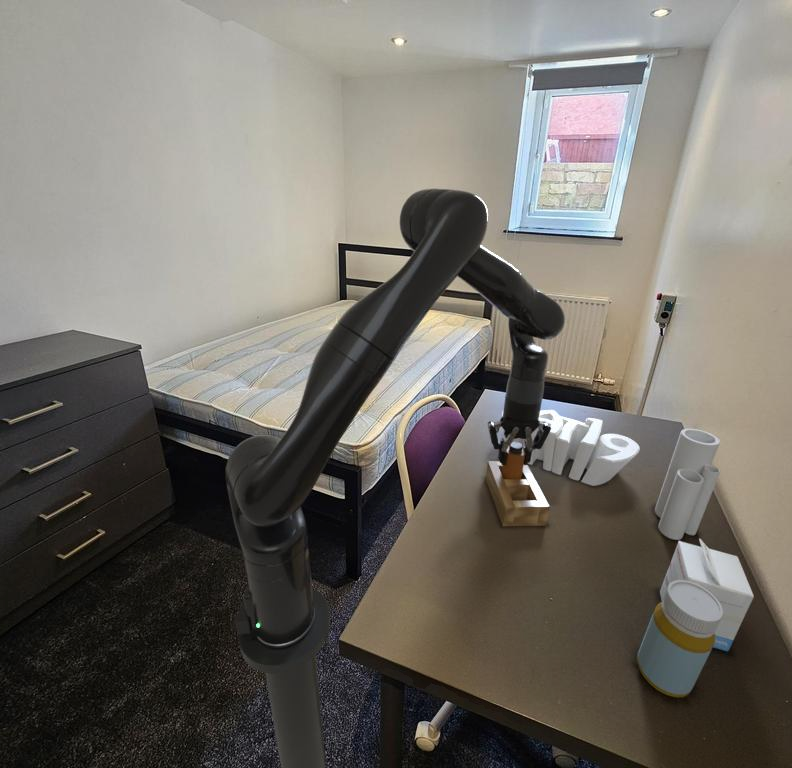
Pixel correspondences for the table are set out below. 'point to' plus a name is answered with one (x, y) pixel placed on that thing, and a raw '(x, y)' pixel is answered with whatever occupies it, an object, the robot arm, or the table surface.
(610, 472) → the white foam letters
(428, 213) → the robot arm
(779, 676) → the table surface
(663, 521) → the vase
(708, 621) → the bottle
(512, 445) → the small bottle
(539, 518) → the hole block
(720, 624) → the tissue box
